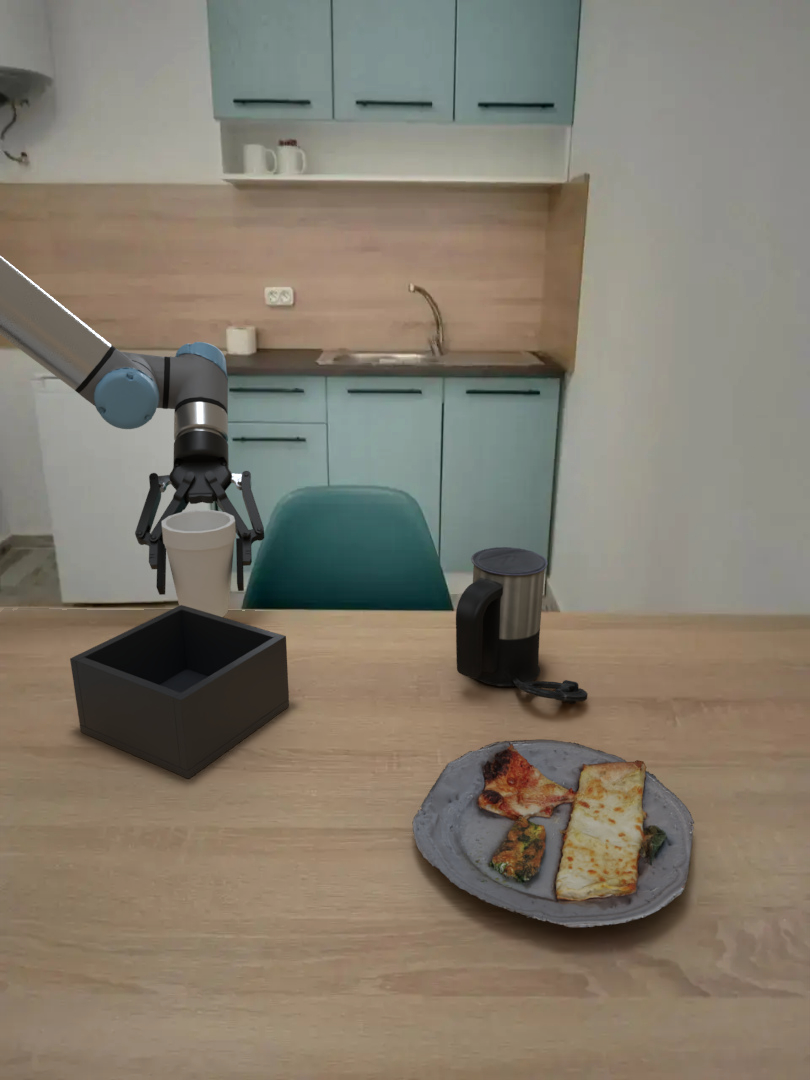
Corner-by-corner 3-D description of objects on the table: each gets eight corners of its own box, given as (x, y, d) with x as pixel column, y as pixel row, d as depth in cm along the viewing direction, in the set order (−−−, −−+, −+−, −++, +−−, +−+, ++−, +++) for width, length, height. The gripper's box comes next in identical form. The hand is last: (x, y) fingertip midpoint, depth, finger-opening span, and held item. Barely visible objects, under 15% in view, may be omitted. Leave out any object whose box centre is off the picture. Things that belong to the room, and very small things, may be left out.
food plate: (473, 735, 90) (474, 707, 89) (698, 787, 81) (703, 757, 80) (378, 893, 68) (378, 858, 67) (673, 986, 60) (678, 948, 59)
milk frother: (477, 647, 109) (482, 541, 104) (598, 668, 104) (609, 558, 99) (444, 700, 97) (447, 583, 92) (580, 727, 92) (591, 604, 86)
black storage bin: (80, 732, 90) (69, 658, 87) (187, 670, 103) (181, 604, 100) (188, 779, 82) (180, 700, 79) (289, 706, 95) (286, 635, 92)
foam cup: (253, 613, 112) (248, 522, 108) (191, 633, 107) (183, 538, 102) (217, 592, 119) (211, 505, 115) (157, 609, 113) (148, 519, 109)
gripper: (280, 454, 123) (286, 595, 113) (125, 457, 119) (118, 603, 110) (279, 426, 116) (286, 574, 107) (115, 429, 113) (107, 582, 103)
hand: (201, 588), depth 108 cm, fingers closed on foam cup, 9 cm apart
